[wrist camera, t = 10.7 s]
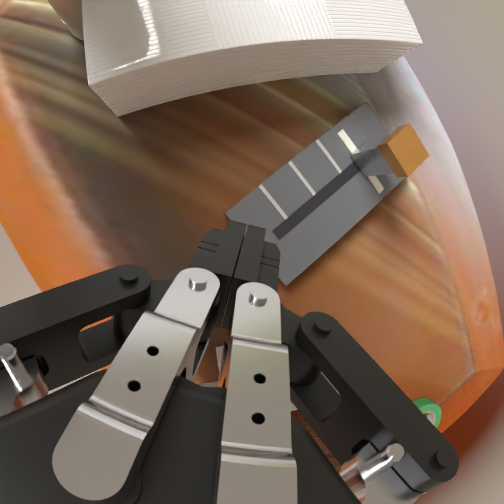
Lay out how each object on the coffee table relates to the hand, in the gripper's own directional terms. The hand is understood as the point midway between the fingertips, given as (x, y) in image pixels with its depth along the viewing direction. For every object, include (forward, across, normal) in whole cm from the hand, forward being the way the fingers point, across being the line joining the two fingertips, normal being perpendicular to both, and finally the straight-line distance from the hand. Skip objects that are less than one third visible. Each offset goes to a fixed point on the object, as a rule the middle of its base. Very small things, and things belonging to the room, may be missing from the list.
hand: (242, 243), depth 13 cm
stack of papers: (+28, +6, -9) cm, 30 cm away
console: (+24, -7, +5) cm, 25 cm away
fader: (+24, -11, 0) cm, 26 cm away
